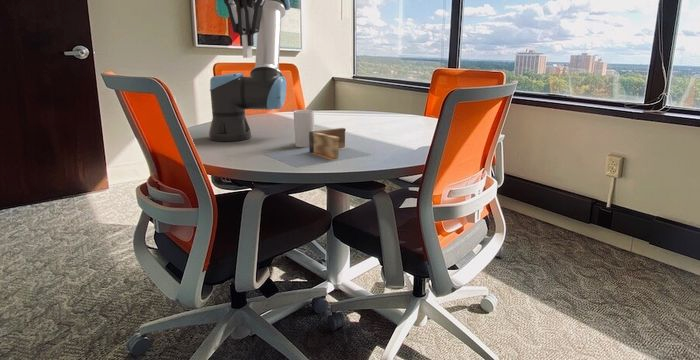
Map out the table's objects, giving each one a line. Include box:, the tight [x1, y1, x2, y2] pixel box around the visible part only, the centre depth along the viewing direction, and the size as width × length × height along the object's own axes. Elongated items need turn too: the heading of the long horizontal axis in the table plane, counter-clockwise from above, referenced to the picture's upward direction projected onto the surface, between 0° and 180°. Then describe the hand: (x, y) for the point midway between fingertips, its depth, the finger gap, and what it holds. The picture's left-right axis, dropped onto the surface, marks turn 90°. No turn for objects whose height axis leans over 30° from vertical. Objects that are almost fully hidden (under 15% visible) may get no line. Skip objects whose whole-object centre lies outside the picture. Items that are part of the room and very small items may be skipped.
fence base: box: [309, 127, 346, 153], centre depth 148 cm, size 2×13×6 cm, turn 126°
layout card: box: [262, 146, 373, 168], centre depth 143 cm, size 21×27×1 cm
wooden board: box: [313, 131, 339, 158], centre depth 140 cm, size 11×2×6 cm, turn 41°
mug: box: [293, 109, 315, 148], centre depth 156 cm, size 10×7×12 cm, turn 13°
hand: (247, 57), depth 139 cm, fingers closed
